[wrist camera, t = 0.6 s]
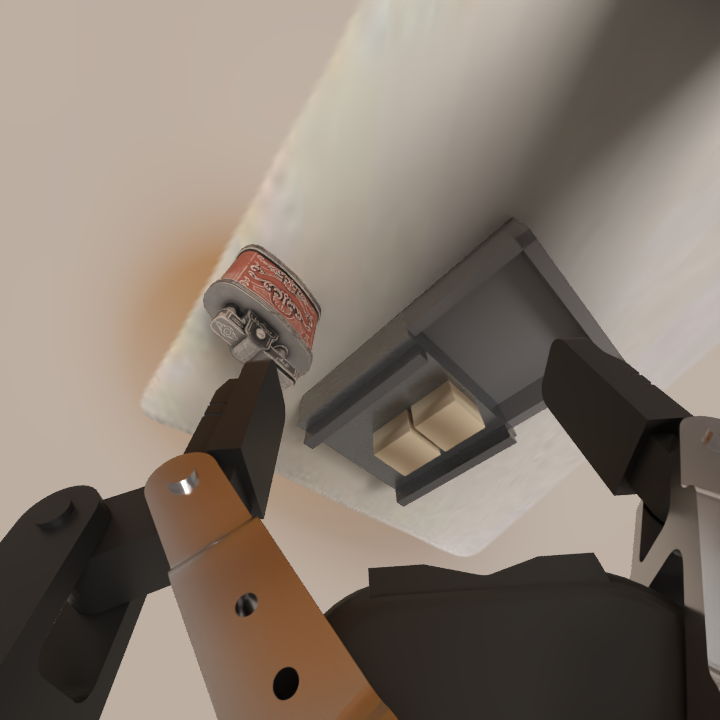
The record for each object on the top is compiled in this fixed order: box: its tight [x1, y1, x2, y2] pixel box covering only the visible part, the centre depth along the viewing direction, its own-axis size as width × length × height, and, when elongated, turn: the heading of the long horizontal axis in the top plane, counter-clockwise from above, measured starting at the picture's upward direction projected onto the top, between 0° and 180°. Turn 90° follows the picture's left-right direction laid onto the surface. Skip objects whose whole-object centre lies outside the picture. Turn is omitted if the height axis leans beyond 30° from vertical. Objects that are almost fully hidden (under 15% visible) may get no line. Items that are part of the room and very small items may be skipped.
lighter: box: [203, 244, 321, 390], centre depth 25 cm, size 8×3×10 cm, turn 39°
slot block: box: [297, 311, 517, 507], centre depth 34 cm, size 13×15×6 cm
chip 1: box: [373, 410, 441, 476], centre depth 32 cm, size 4×4×2 cm
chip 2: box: [411, 380, 485, 452], centre depth 30 cm, size 4×4×2 cm
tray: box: [403, 217, 625, 427], centre depth 30 cm, size 10×15×3 cm
